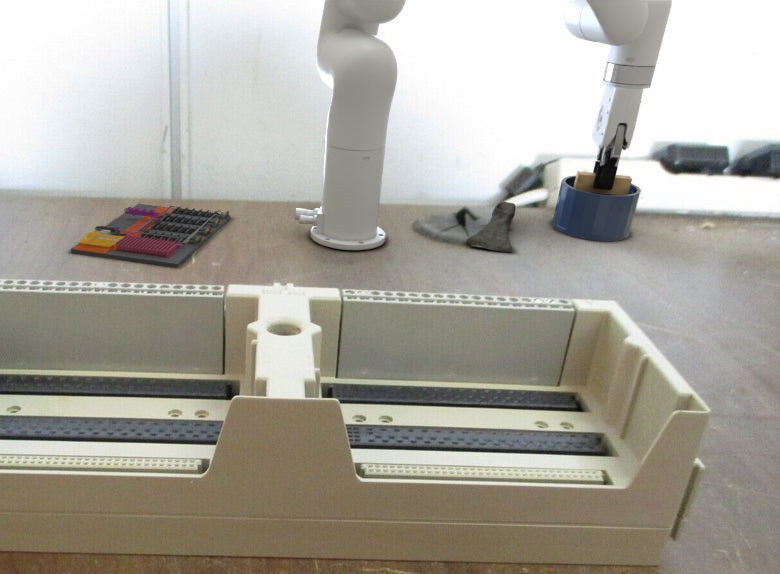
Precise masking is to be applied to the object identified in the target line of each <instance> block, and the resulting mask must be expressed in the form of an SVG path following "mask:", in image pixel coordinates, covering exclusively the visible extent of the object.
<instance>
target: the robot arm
mask: <svg viewBox="0 0 780 574" xmlns="http://www.w3.org/2000/svg"><path fill="white" fill-rule="evenodd" d="M406 1H407V0H324V4H323V9H322V14H321V20H320V26H319V33H318V38H317V45H316V51H315V64H316V69H317V72H318V74H319V76H320V78H321V80H322V81H323V82H324V83H325V84H326V85H327V86H328V87H329V88H331V91H332V92H331V98H330V102H329V108H328V113H327V119H326V129H325V140H324V141H325V143H324V144H325V147H324V161H323V162H324V164H323V176H322V177H323V178H322V191H321V192H322V194H321V205H320V207H319V208H314V210H311V209H306V208H297V207H296V208H295V213H294V219H295V221H299V224H302V225H313V226H312V227H310V238H311V239H312V240H313V242H315V243H316V244H318V245H321V246H323V247H327V248H331V249H334V250H335V249H336V250H343V251H364V250H365V251H366V250H367V251H368V250H372V249H376V248H378V247H380V246H383V244H384V243H385V242H386V236H387V235H386V232H385V231H384V230H383V229H382V228H381V227H379V226H378V222H379V212H380V202H381V192H382V184H383V174H384V163H385V154H386V143H387V135H388V134H387V133H388V127H389V118H390V113H391V108H392V103H393V100H394V95H395V91H396V87H397V82H398V64H397V59H396V56H395V53H394V52H393V49H392V48H391V46H390V45H389V44H388V43H387V42H386V41H385V40H384V39H382V38H381V37H379V36H378V32H379V27H380V25H381V24H387V23H390V22H391V21H393V20H394V19H396V18H397V17H398V16H399V15H400V13H401V12H402V11H403V9H404V8H405V4H406ZM672 4H673V1H672V0H569V1H568V3H567V5H566V7H565V10H564V15H563V17H564V18H563V19H564V25H565V27H566V29H567V31H568V32H569V33H570V34H571V35H573V36H574V37H576V38H578V39H580V40H584V41H588V42H593V43H599V44H604V45H607V46H610V47H609V51H608V56H607V60H606V63H605V68H604V72H603V73H604V74H603V78H602V81H601V83H602V84H603V85H605V87H604V91H603V93H602V94H603V95H602V97H601V101H600V103H599V107H598V111H597V115H596V118H595V122H594V126H593V130H592V133H591V138H592V140H593V141H594V143H595V145H596V146H597V147H598V151H597V155H596V160H595V163H594V166H593V171H592V173H596V175H595V179H594V184H593V187H594V188H595V189H605V190H611V189H612V188H613V184H614V180H615V176H616V175H617V172H618V167H619V163H620V159H621V155H622V152H623V151H626V150H628V149H629V148H630V146H631V143H632V140H633V137H634V133H635V129H636V125H637V121H638V116H639V111H640V107H641V103H642V98H643V92H644V89H649V88H651V86H652V82H653V78H654V75H655V70H656V67H657V63H658V59H659V55H660V50H661V47H662V43H663V39H664V36H665V32H666V28H667V26H668V25H667V24H668V20H669V17H670V14H671V9H672Z"/></svg>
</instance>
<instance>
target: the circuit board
mask: <svg viewBox="0 0 780 574" xmlns="http://www.w3.org/2000/svg"><path fill="white" fill-rule="evenodd" d="M123 211H124V213H122V214H121V215H119V216H118V217H116V218H115V219H113V220H112V221H111V222H109V223H107V224H106V225H99V226H98V225H97V226H96V227H94V231H93V232H91V231H89V232H87V233H85V237H84V238H82V239H81V240H79V241H77V243H78V244H76V245H75V246H73V247H72V248H70V253H72V254H79V255H84V256H93V257H99V258H105V259H106V258H107V259H114V260H120V261H126V262H127V261H128V262H134V263H135V262H136V263H142V264H148V265H149V264H150V265H157V266H162V267H163V266H164V267H170V268H179V267H180V266H181V265H183V263H185V262H186V261H187V259H189V258H190V257H191V256H192V255H193V254H194V253H195V252H196V251H197V250H198V249H200V248H201V246H202V245H204V244H205V243H206V242H207V241H208V240H209V239H210V238H211V237H213V236H214V234H215V233H217V231H218V230H220V229H221V228H222V227H223V226H224V225H225V224H226V223H227V222H228V221H229V220H231V215H230V211H229V210H227V211H225V212H222V211H221V210H220V209H217V210H215V211H212V212H211V211H210V210H209V209H207V210H205V211H204V210H203V209H198V210H197V209H196V208H195V207H194V208H193V209H189V208H188V207H185V208H182V207H181V206H174V205H170V206H161V205H154V204H153V205H152V204H145V203H137V204H136V205H135V206H133V207H131V206H128V207H126V208H124V209H123ZM219 212H220V213H219Z"/></svg>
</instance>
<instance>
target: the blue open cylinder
mask: <svg viewBox="0 0 780 574" xmlns="http://www.w3.org/2000/svg"><path fill="white" fill-rule="evenodd" d="M575 178H576V175H569V176H565V177H563V178H562V179H561V182H560V187H559V190H558V196H557V200H556V205H555V208H554V214H553V218H552V219H553V220H552V226H553V228H554V229H555V230H557V231H558V232H560V233H563V234H565V235H568V236H570V237H573V238H578V239H580V240H581V239H582V240H588V241H595V242H618V241H622V240H625V239H627V238H628V237H629V236H630V232H631V229H632V225H633V223H634V219H635V215H636V211H637V207H638V204H639V201H640V197H641V193H642V189H640V187H639V186H638V185H636V184H634V183H632V182H631V185H630V189H629V193H628V195H612V194H601V193H591V192H586V191H583V190H579V189H576V188H573V187H574V183H575Z"/></svg>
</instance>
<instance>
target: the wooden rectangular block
mask: <svg viewBox="0 0 780 574" xmlns="http://www.w3.org/2000/svg"><path fill="white" fill-rule="evenodd" d="M595 175H596V173H593V172H588V171H579V170H578V171H577V170H576V174H575V176H576V178H575V183H574V187H573V188H576V189H579V190H583V191H586V192H591V193H601V194H612V195H628V193H629V189H630V185H631V183H632V181H633V178H632V177H631V175H624V174H623V175H622V174H616V176H615V180H614V184H613V188H612V189H611V190H605V189H595V188H594V187H593V184H594V179H595Z"/></svg>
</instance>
